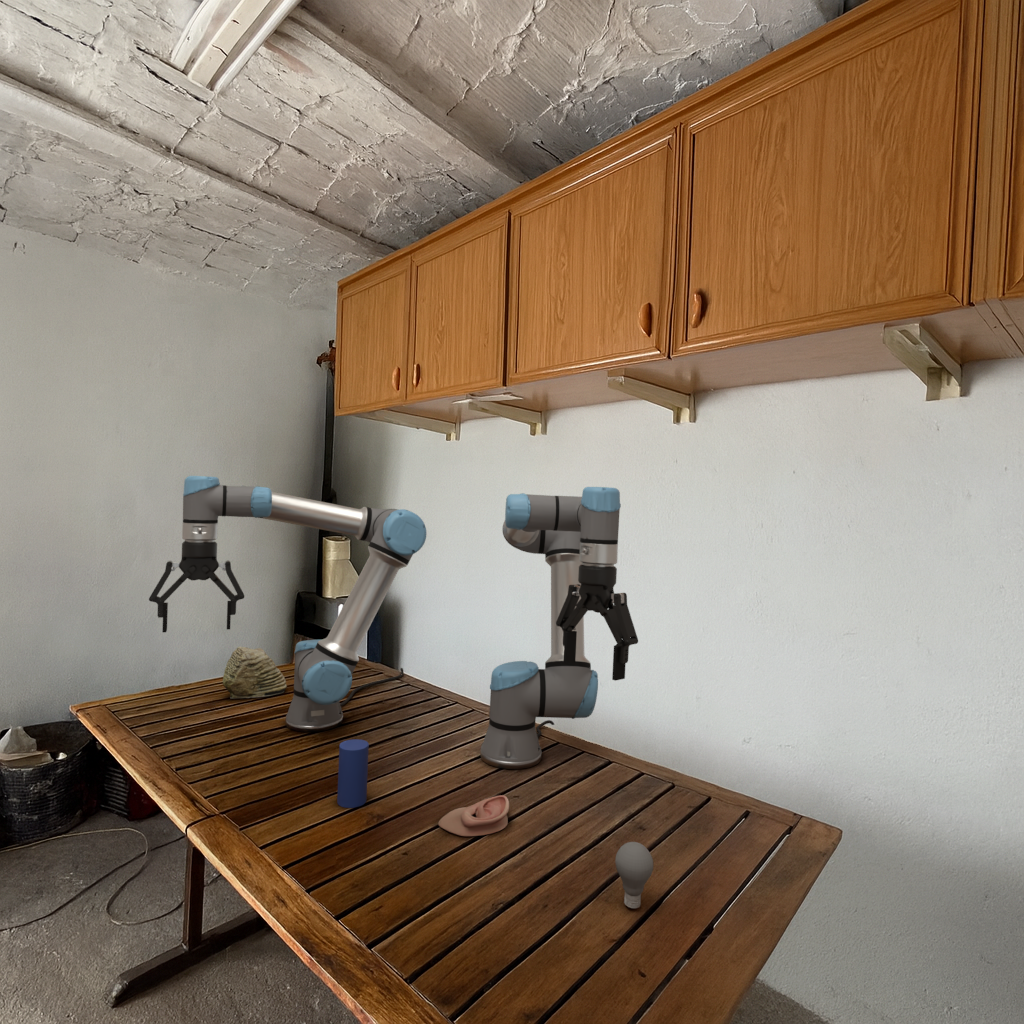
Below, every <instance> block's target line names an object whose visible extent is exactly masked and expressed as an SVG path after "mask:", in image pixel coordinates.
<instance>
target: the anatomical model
mask: <svg viewBox="0 0 1024 1024" xmlns="http://www.w3.org/2000/svg"><path fill="white" fill-rule="evenodd" d="M509 810H510V801H509V798H508V797H507V796H506V795H504V794H502V795H501V794H500V795H495V796H491V797H488V798H485V799H482V800H481V801H478V802H476V803H474V804H472V805H469V806H466V807H464V806H463V807H459V808H455V809H453V810H450V811H449V812H447V813H446V814H445V815H444V816H442V817H441V818H440V819H439V821H438V822H437V825H438V826H439V827H440V828H442V829H443V830H445V831H447V832H448V833H451V834H454V835H457V836H460V837H478V836H485V835H490V834H495V833H497V832H500V831H502V830H504V829H505V828H506V827H507V826H508V824H509V823H508V822H509V821H508V820H509V819H508V813H509Z"/></svg>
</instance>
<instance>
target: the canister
mask: <svg viewBox="0 0 1024 1024" xmlns="http://www.w3.org/2000/svg"><path fill="white" fill-rule="evenodd" d="M369 746H370V744H369V742H368V741H367V740H364V739H358V738H356V739H355V738H354V739H347V740H344V741H342V742H340V743H339V747H338V748H339V749H338V771H337V772H338V773H337V775H338V776H337V798H336V799H337V800H336V802H337V805H338V806H339V807H341V808H345V809H355V808H359V807H361V806H363V805H365V804H366V802H367V800H368V799H367V797H368V796H367V795H368V772H369V771H368V770H369V750H370V749H369V748H370V747H369Z"/></svg>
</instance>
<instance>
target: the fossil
mask: <svg viewBox="0 0 1024 1024" xmlns="http://www.w3.org/2000/svg"><path fill="white" fill-rule="evenodd" d="M222 676H223V677H222V685H223V687H224V688H225V690H226V691H228V693H229V698H230V699H250V698H264V697H271V696H275V695H281V694H284V693H285V691H286V689H287V687H288V686H287V680H286V678H285V676H284V674H283V673H282V672H281V669H279V668H278V667H277V665H276V663H275V662H274V660H273V659H272V658H271V657H270V656H269V655H268V654H267V653H266V652H265V650H264V649H263V648H260V647H258V648H251V647H247V646H246V647H245V646H238V647H237V648H236V649H235V650H233V651H232V653H231V656H230V657H229V659H228V660H227V663H226V666H225V668H224V671H223V675H222Z"/></svg>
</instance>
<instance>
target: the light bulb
mask: <svg viewBox="0 0 1024 1024" xmlns="http://www.w3.org/2000/svg"><path fill="white" fill-rule="evenodd" d="M614 864H615V868H616V871H617V873H618V876H619V877H620V880H621V881H622V888H623V890H624V898H623V899H624V900H623V903H624V905H625V906H627V907H628V908H630V909H638V908H640V907H641V900H642V893H643V892H644V888H645V885H646V884H647V882H648V881H649V879H650V878H651V876H652V874H653V871H654V859H653V856H652V854H651V852H650V851H649V849H648V848H647V847H646V846H645V845H644V844H642V843H640V842H637V841H628V842H625V843H623V845H621V846H620V847H619V848H618V850H617V852H616V854H615V863H614Z"/></svg>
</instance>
